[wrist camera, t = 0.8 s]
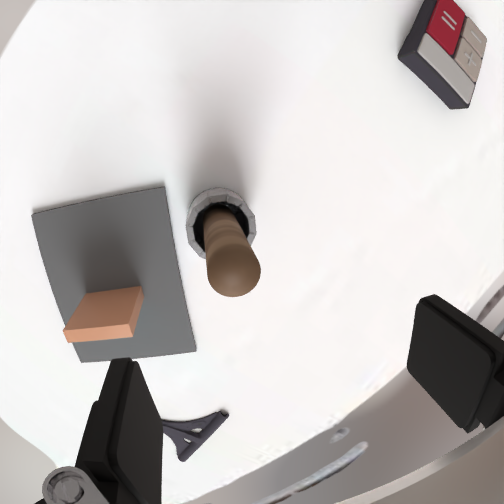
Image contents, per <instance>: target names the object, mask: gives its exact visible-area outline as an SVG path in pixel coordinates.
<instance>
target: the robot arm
mask: <svg viewBox="0 0 504 504" xmlns="http://www.w3.org/2000/svg"><path fill="white" fill-rule="evenodd" d="M407 369H408V371H409V373H410V374H411V375H412V376H413V377H414V378H415V379H416V381H417V382H418V383H419V384H420V385H421V386H422V387H423V388H424V389H425V390H426V391H427V392H428V394H429V395H430V396H431V397H432V398H433V399H434V400H435V401H436V402H437V403H438V405H439V406H440V407H441V408H442V409H443V410H444V411H445V412H446V414H447V415H448V416H449V417H450V418H451V419H452V420H453V421H454V423H455V424H456V425H457V426H458V427H460V428H463V429H464V430H465V431H466V432H467V433H469V432H471V431H473V430H474V429H475V428H477V427H478V426H479V424H480V422H481V423H482V424H483V431H482V432H481V433H479V434H478V435H476V436H475V437H473V438H472V439H471V440H469V441H467V442H465V443H464V444H462V445H461V446H459V447H458V448H456V449H454V450H452V451H451V452H449V453H447V454H445V455H444V456H442V457H440V458H438V459H437V460H435V461H433V462H431V463H429V464H427V465H425V466H424V467H422V468H420V469H418V470H416V471H414V472H412V473H410V474H408V475H405V476H403V477H401V478H399V479H397V480H395V481H392V482H390V483H388V484H386V485H383V486H381V487H379V488H376V489H374V490H371V491H368V492H366V493H363V494H361V495H358V496H355V497H353V498H350V499H347V500H344V501H341V502H338V503H335V504H504V341H503V340H502V339H500V338H499V337H497V336H496V335H495V334H493V333H492V332H490V331H489V330H488V329H486V328H485V327H483V326H482V325H480V324H479V323H478V322H476V321H475V320H473V319H472V318H470V317H469V316H467V315H466V314H464V313H463V312H461V311H460V310H458V309H457V308H456V307H454V306H453V305H451V304H450V303H448V302H447V301H445V300H444V299H442V298H440V297H439V296H437V295H435V294H434V295H430V296H427V297H424V298H421V299H420V301H419V303H418V304H417V306H416V310H415V318H414V325H413V331H412V337H411V343H410V349H409V355H408V360H407ZM162 448H163V424H162V420H161V418H160V415H159V413H158V411H157V409H156V406H155V404H154V401H153V399H152V397H151V394H150V392H149V389H148V387H147V384H146V382H145V379H144V377H143V374H142V371H141V369H140V366H139V364H138V362H137V361H132V359H131V358H130V357H126V358H116V359H112V360H111V363H110V366H109V369H108V372H107V375H106V378H105V381H104V384H103V387H102V390H101V393H100V396H99V400H98V401H95V402H94V403H93V405H92V408H91V411H90V414H89V417H88V421H87V424H86V427H85V431H84V434H83V438H82V441H81V445H80V449H79V452H78V456H77V460H76V464H75V467H71V466H67V467H61V468H58V469H55V470H54V471H53V472H51V473H50V474H49V475H48V476H47V477H46V479H45V481H44V483H43V486H42V493H43V496H44V498H43V499H41V500H40V501H38V502H36V503H35V504H161V485H162Z"/></svg>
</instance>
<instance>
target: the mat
mask: <svg viewBox="0 0 504 504" xmlns="http://www.w3.org/2000/svg"><path fill="white" fill-rule="evenodd" d="M31 216H32V221H33V225H34V229H35V233H36V237H37V241H38V245H39V249H40V252H41V256H42V259H43V263H44V266H45V270H46V273H47V276H48V279H49V282H50V285H51V288H52V291H53V294H54V297H55V300H56V303H57V306H58V308H59V311H60V314H61V316H62V319H63V321H64V324H65V326H66V324H67V323H68V321H69V319H70V318H71V316H72V315H73V313H74V311H75V310H76V308H77V307H78V305H79V303H80V302H81V300H82V299H83V297H84V296H85V294H86V293H94V292H101V291H108V290H116V289H123V288H130V287H137V286H141V287H142V290H143V294H144V299H143V303H142V306H141V310H140V313H139V317H138V320H137V324H136V327H135V331H134V335H133V337H128V338H118V339H108V340H97V341H85V342H72V343H73V346H74V348H75V350H76V353H77V355H78V357H79V359H80V361H81V363H84V362H100V361H111V360H112V359H116V358H126V357H130V358H131V359H137V358H147V357H156V356H165V355H173V354H181V353H189V352H196V345H195V341H194V337H193V333H192V328H191V324H190V320H189V315H188V311H187V306H186V301H185V297H184V292H183V287H182V282H181V277H180V272H179V267H178V262H177V257H176V251H175V246H174V240H173V235H172V229H171V223H170V217H169V211H168V205H167V198H166V192H165V187H159V188H154V189H148V190H142V191H137V192H131V193H126V194H121V195H115V196H110V197H105V198H101V199H96V200H91V201H86V202H82V203H77V204H73V205H68V206H64V207H60V208H55V209H51V210H47V211H43V212H39V213H35V214H32V215H31Z"/></svg>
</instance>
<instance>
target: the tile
mask: <svg viewBox="0 0 504 504" xmlns="http://www.w3.org/2000/svg"><path fill="white" fill-rule="evenodd" d="M143 299H144V294H143V290H142V287H141V286H137V287H130V288H123V289H116V290H108V291H101V292H94V293H86V294H85V296H84V297H83V299H82V300H81V302H80V303H79V305H78V307H77V308H76V310H75V311H74V313H73V315H72V316H71V318H70V319H69V321H68V323H67V324H66V326H65V328H64V329H63V332H64V335H65V337H66V339H67V342H68V343H72V342H85V341H97V340H108V339H118V338H128V337H133V335H134V331H135V327H136V324H137V320H138V317H139V313H140V310H141V306H142V303H143Z"/></svg>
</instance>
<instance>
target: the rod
mask: <svg viewBox="0 0 504 504" xmlns="http://www.w3.org/2000/svg"><path fill="white" fill-rule="evenodd" d="M203 230H204V242H205V254H206V265H207V275H208V280H209V283H210V285H211V286H212V288H213V289H214V290H215V291H216V292H218V293H219V294H221V295H224V296H227V297H238V296H242V295H245V294H247V293H248V292H250V291H251V290H252V289H253V288H254V287H255V286H256V285H257V283H258V281H259V279H260V274H261V268H260V264H259V261H258V259H257V257H256V256H255V254H254V252H253V250H252V248H251V246H250V244H249V242H248V240H247V239H246V237H245V235H244V233H243V231H242V229H241V227H240V225H239V223H238V221H237V220H236V218H235V216H234V214H233V212H232V210H231V209H230V208H229V207H228V206H226V205H223V204H214V205H212V206H210V207H208V208H207V209H206V211H205V212H204V215H203Z"/></svg>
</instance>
